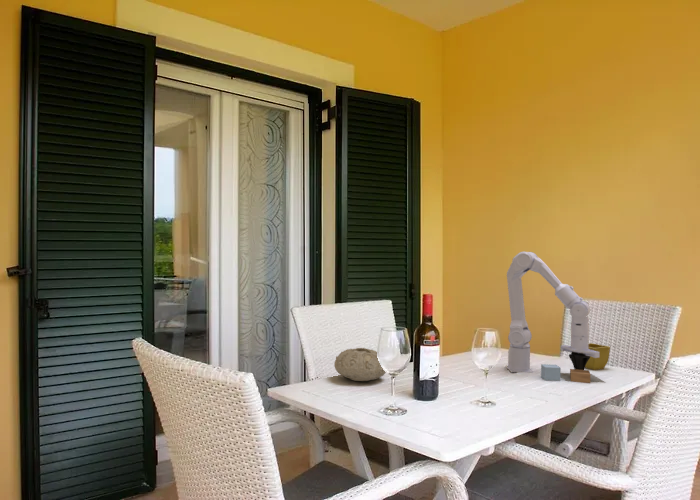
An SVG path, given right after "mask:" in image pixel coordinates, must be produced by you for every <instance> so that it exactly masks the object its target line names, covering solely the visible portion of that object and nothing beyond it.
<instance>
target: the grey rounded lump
mask: <svg viewBox="0 0 700 500" xmlns="http://www.w3.org/2000/svg"><path fill="white" fill-rule="evenodd" d="M377 352H378V351H376V350H374V349H369V348H365V347H356V348H348V349H345V350H343V351H341V352H340V353H339V354H338V355H337V356H336V357H335V359H334V360H335V361H334V364H333V365H334V367H333V368H334V369H335V371H336V372H337V373H338V374H339V375H340V376H341V377H344V378H348V379H349V380H352V381H355V382H367V381H373V380H378V379H379V378H382V377H383V376H385V374H386V373H387V371H386V372H385V371H384V370H383V368H382V367H381V365H380V363H379V361H378V358H377Z"/></svg>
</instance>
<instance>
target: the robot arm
mask: <svg viewBox="0 0 700 500" xmlns="http://www.w3.org/2000/svg"><path fill="white" fill-rule="evenodd" d="M528 271H531V272H535V273H538V274H539V275H541V277H542V278H544V280H545V281H546V282H547V283H548V284H549V285H550V286H551V288H553V289H554V296H556V297H557V299H558V300H560V302H561V303H562V304H563V305H564V306H565V307H566V309H569V314H570V316H571V322H570V345H565V344H563V345H560V351H561V352H567V353H570V354H568V357H569V359H570V361H571V363H572V365H573V369H578V370H585V369H586V368H585V366H586V363H587V362H588V360H589V359H590V356H591V357H593V358H599V353H600V352H597V351H594V350H591V349H588V345H589V336H590V335H589V333H590V330H589V329H590V327H589V326H590V323H589V322H590V321H589V314H590V312H591V307H590V306H589V303H588V302H586V301H584V298H583V296H582V297H580V296H579V295H578V293H577V292H576V291H575V288H574V286H572V285H569V284H568V283H562V281H561V280H560V279H559V278H558V277H557V276H556V275H555V273H554V272H553V270H552V269H551V268H550V267H549V266H548V265H547V263H546V262H544V260H542V259H541V258H540V257H539V256H538V255H537V254H536V253H535V252H532V251H520V252H518V253H517V254H516V255H515V256H514V257H513V258H512V262H511V264H510V266H509V267H508V270H507V272H506V279H507V290H508V298H509V299H508V301H509V311H510V318H511V321H510V325H509V333H508V337H507V340H508V342H509V348H508V351H507V354H508V355H507V356H508V357H507V365H505V368H506V369H507V370H508V371H509V372H511V373H534V371H533V370H532V369H530V368H531V345H530V343H529V342H530V341H531V340H532V338H533V337H532V336H533V335H532V332H531V330H530V329H529V325H528V324H529V323H528V322H527V319H526V312H525V311H526V310H525V301H524V290H523V282H522V281H523V280H522V277H524V275H525V274H527V272H528ZM580 352H581V353H580Z"/></svg>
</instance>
